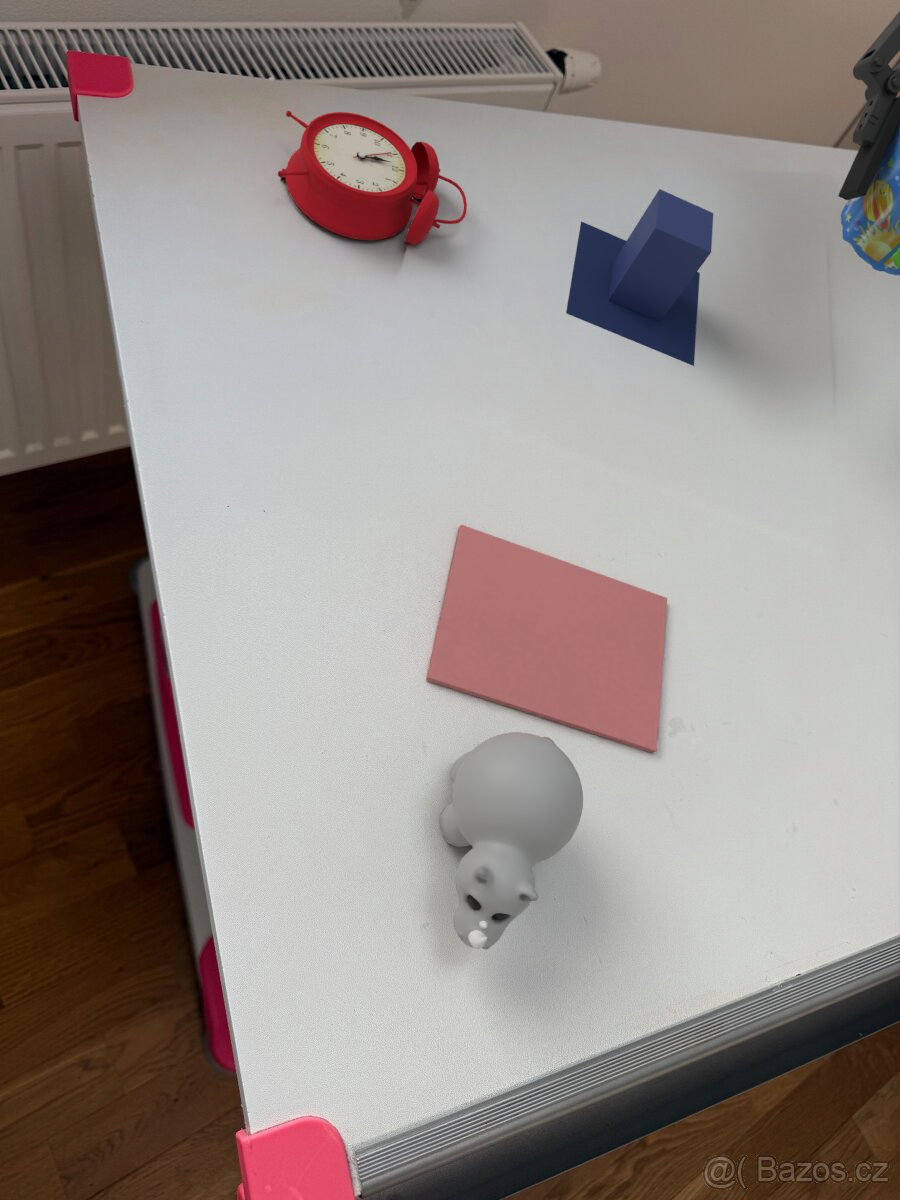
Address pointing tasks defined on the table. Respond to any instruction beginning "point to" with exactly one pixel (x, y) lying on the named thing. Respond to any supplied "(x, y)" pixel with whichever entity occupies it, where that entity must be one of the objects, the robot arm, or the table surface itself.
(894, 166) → the snack cup
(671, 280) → the navy block
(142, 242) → the table surface
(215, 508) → the table surface
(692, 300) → the navy mat
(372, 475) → the table surface
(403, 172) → the alarm clock
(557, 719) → the rose mat
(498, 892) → the chubby cartoon animal
